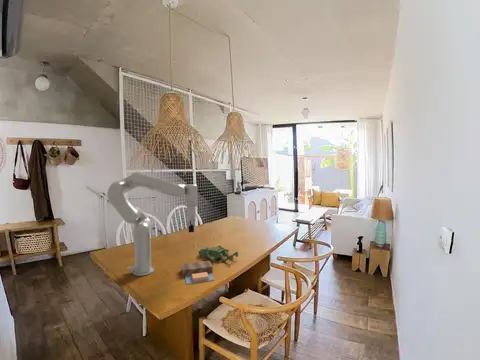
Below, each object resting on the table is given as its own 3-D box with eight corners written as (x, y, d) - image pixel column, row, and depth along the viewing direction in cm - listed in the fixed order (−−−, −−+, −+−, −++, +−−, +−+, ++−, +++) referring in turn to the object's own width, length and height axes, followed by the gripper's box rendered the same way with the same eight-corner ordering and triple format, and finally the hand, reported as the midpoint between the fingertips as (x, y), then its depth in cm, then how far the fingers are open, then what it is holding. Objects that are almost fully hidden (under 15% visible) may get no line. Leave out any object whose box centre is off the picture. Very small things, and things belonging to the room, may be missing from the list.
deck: (182, 276, 153) (182, 270, 152) (181, 270, 162) (181, 264, 162) (212, 272, 158) (212, 266, 158) (209, 266, 167) (209, 260, 167)
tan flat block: (191, 274, 151) (191, 277, 151) (193, 278, 145) (193, 281, 145) (206, 271, 154) (206, 275, 154) (208, 276, 148) (208, 279, 148)
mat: (186, 284, 143) (186, 283, 143) (184, 276, 153) (184, 276, 153) (214, 280, 148) (214, 279, 148) (211, 273, 157) (211, 272, 157)
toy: (242, 256, 185) (208, 252, 199) (241, 246, 184) (207, 242, 198) (227, 267, 166) (191, 261, 180) (226, 255, 166) (190, 251, 180)
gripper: (184, 202, 169) (184, 229, 170) (186, 205, 155) (186, 235, 156) (196, 201, 171) (195, 228, 172) (198, 205, 157) (198, 234, 158)
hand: (191, 231), depth 164 cm, fingers closed
